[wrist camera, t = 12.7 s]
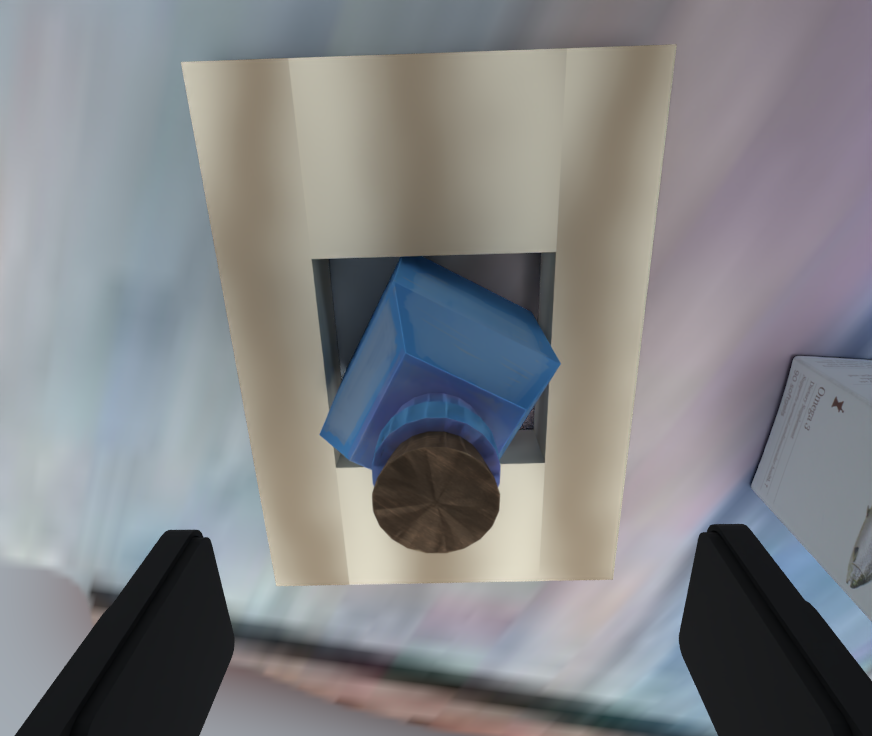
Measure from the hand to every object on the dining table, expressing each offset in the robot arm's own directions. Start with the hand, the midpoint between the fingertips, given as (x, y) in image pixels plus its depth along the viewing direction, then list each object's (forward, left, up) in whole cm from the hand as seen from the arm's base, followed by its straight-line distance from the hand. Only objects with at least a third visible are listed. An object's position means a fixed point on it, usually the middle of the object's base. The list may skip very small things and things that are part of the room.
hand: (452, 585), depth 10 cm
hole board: (0, 0, -15) cm, 15 cm away
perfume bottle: (0, 0, -15) cm, 15 cm away
